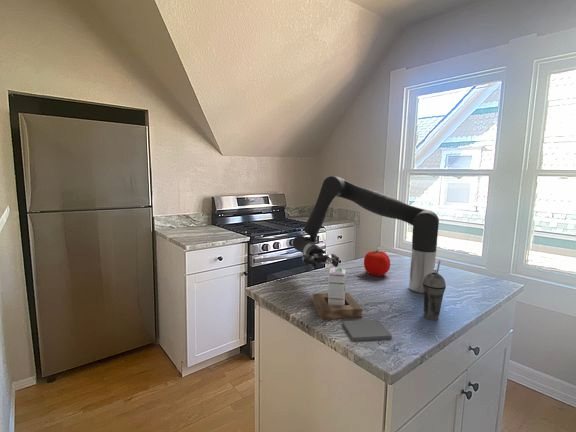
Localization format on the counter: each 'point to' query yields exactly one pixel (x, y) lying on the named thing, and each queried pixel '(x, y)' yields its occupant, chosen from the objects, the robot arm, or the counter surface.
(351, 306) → the walnut socket stand
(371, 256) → the tomato
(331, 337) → the counter surface
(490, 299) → the counter surface
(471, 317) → the counter surface
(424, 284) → the beverage cup
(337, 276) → the syrup box
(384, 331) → the charcoal rubber mat
